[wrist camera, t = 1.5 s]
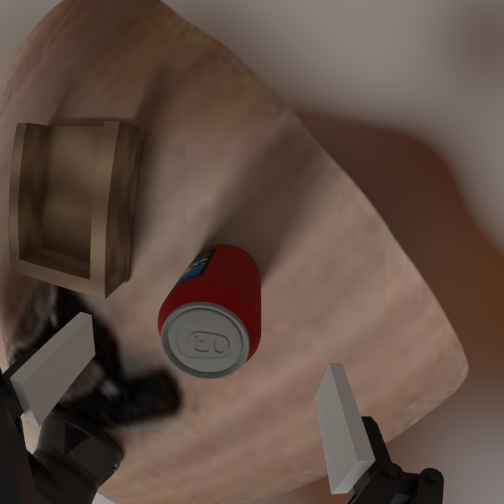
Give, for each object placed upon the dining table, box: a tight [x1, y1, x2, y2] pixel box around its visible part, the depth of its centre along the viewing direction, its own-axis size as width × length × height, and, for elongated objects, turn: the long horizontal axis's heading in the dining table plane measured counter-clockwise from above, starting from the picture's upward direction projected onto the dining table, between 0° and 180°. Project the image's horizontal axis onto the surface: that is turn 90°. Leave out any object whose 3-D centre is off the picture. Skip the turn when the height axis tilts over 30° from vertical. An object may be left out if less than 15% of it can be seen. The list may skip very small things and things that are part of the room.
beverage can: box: [158, 245, 261, 379], centre depth 23 cm, size 7×7×12 cm
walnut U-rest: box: [9, 121, 146, 299], centre depth 24 cm, size 15×13×5 cm
